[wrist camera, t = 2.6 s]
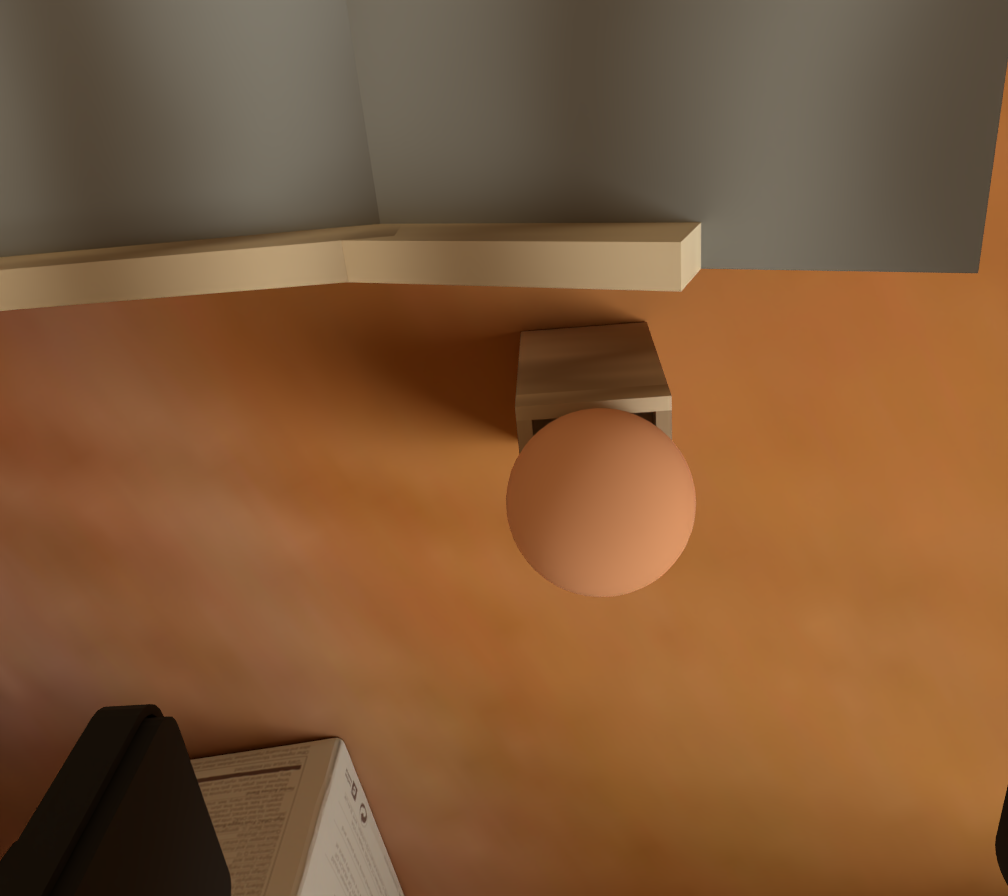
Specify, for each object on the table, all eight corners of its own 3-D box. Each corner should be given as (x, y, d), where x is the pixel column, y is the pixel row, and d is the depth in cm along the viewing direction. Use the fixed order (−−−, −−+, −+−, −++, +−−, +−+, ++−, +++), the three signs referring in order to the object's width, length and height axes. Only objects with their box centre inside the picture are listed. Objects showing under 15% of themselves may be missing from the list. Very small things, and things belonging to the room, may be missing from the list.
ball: (681, 373, 17) (712, 453, 14) (682, 528, 19) (710, 631, 15) (501, 386, 17) (492, 467, 14) (517, 538, 19) (511, 641, 16)
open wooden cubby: (646, 321, 21) (671, 395, 17) (649, 436, 22) (672, 530, 18) (520, 331, 21) (514, 407, 17) (531, 444, 22) (528, 539, 18)
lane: (924, -399, 15) (1161, -660, 9) (874, 195, 19) (1015, 270, 14) (-657, -180, 18) (-1254, -280, 12) (-391, 305, 22) (-732, 408, 16)
